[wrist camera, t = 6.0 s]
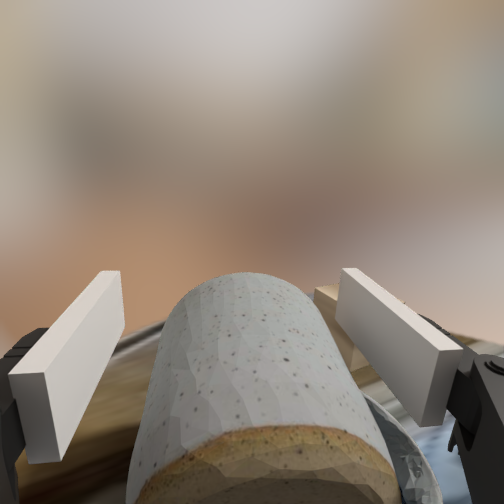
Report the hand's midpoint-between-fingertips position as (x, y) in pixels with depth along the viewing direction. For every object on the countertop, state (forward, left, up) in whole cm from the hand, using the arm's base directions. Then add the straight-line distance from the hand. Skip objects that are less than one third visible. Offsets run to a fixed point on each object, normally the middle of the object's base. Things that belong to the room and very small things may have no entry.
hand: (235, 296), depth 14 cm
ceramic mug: (-2, +4, -6) cm, 8 cm away
